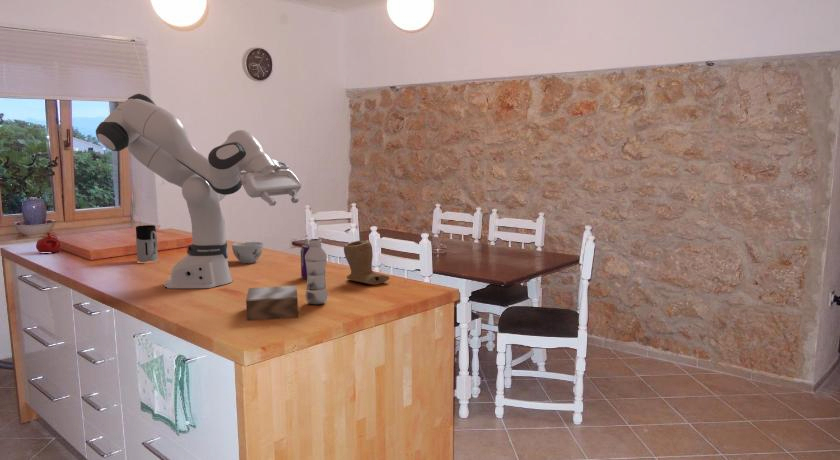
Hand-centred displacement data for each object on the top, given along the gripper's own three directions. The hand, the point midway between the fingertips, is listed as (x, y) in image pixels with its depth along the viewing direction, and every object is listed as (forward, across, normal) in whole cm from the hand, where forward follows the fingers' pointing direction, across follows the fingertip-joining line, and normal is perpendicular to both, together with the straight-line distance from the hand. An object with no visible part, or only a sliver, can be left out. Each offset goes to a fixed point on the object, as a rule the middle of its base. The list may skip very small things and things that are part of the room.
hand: (285, 203), depth 191 cm
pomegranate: (-87, -3, +129) cm, 155 cm away
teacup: (-21, +32, +64) cm, 75 cm away
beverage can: (+11, +26, +33) cm, 43 cm away
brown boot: (+26, +31, +18) cm, 44 cm away
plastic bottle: (+30, 0, +13) cm, 33 cm away
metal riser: (+28, -14, +16) cm, 35 cm away
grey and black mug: (-44, +9, +87) cm, 98 cm away
